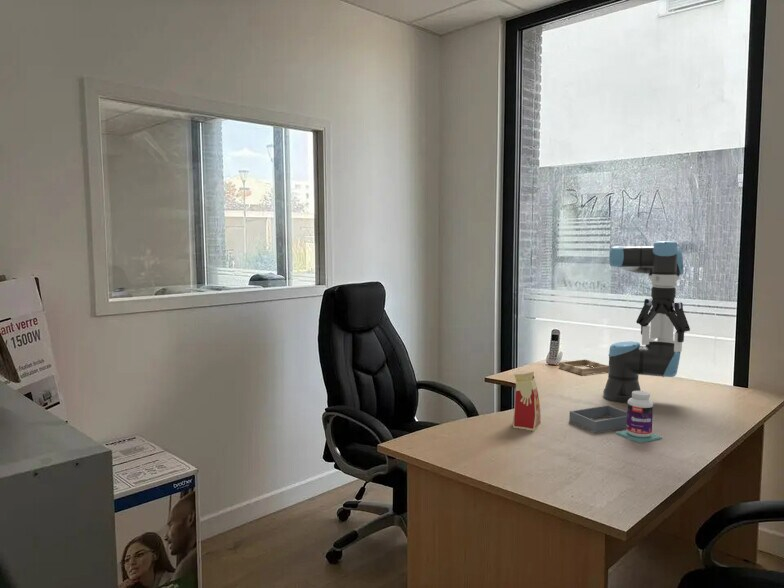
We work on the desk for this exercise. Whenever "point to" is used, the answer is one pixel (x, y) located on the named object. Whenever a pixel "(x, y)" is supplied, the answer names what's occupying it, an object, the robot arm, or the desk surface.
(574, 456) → the desk surface
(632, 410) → the pill bottle
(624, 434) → the pad
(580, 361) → the wooden square tray
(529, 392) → the milk carton
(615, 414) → the rectangular frame
